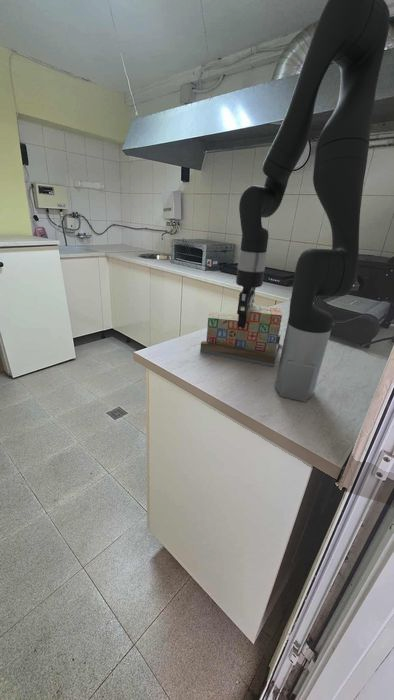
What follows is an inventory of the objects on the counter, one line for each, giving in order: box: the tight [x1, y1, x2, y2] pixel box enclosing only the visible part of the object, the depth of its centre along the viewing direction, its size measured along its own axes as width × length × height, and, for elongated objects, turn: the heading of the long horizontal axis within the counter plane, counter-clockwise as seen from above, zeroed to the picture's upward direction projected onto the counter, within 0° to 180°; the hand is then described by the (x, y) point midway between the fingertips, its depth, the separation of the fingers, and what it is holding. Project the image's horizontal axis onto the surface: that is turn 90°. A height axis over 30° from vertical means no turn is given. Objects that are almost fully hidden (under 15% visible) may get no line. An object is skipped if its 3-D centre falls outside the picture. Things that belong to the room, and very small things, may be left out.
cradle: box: [199, 334, 282, 368], centre depth 90 cm, size 17×22×3 cm
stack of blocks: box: [205, 305, 283, 353], centre depth 87 cm, size 21×6×12 cm, turn 82°
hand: (244, 322), depth 87 cm, fingers open, 8 cm apart
